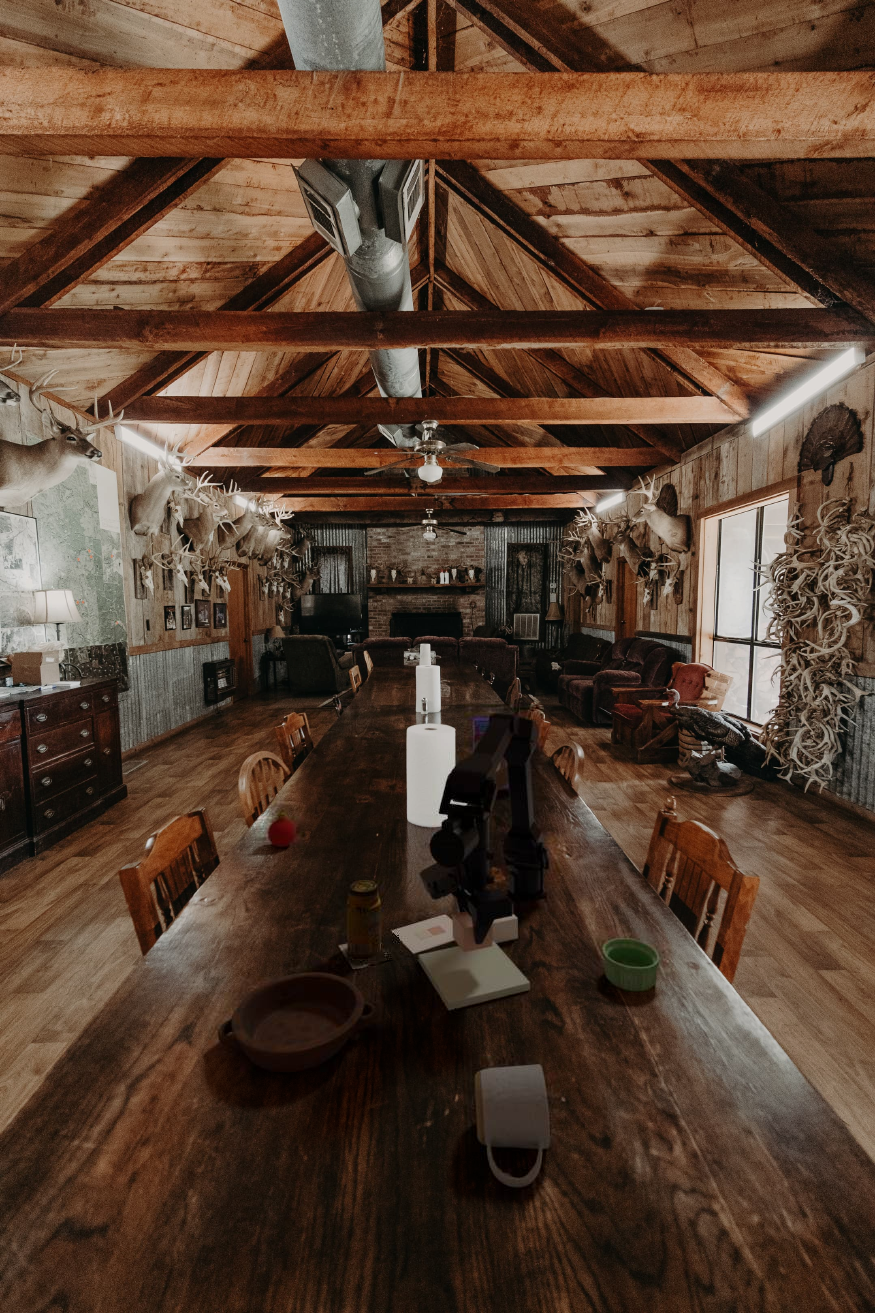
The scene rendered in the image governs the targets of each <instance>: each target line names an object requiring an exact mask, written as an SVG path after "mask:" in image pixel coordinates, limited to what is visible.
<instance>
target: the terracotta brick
mask: <svg viewBox="0 0 875 1313" xmlns="http://www.w3.org/2000/svg"><path fill="white" fill-rule="evenodd" d="M451 916H452V918H451V920H452V921H453V938H454V940H455V943H457V945H458V946H460V948H461V949H462V950H463V952H469V951H474V950H478V949H483V948H487V947H492V926H491V927H490V929H489V931H488V933H487V935H486V937H485V939H484V941H483V943H482V944H478V945H477V944H476V943H475V938H474V932H473V925H472V917H471V916H470V915H469V914H468V913H467V912H461V913H458V912H456V913H452V915H451Z"/></svg>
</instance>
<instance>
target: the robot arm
mask: <svg viewBox="0 0 875 1313" xmlns="http://www.w3.org/2000/svg"><path fill="white" fill-rule="evenodd" d="M488 719H489V724H488V726H487V728H486V729H485V731H484V733H483V735H482V737H481V738H480V740H479V742H478V744H477V746H476V747H475V749H474V751H473V750H472V753H471V754H470V756H468V757H465V758H463V759H460V760H458V762H457V763H456V764H455V766H454V767H453V768H452V769H451V771H450V773H449V774H448V775H447V778H446V780H445V784H444V789H443V792H442V796H441V800H440V804H439V808H438V809H439V810H438V814H439V815H444V816H447V818H445V819H443V820H442V821H441V824H440V825H441V826H440V828H439V829H438V830H436V832H435V833H434V834H433V835H432V836H431V838H430V840H429V841H430V842H429V852H430V855H431V856H432V858H433V860H434V861H435V863H433V864H431V865H429V866H428V867H426V868H424V869H422V870H421V871H420V872H419V876H420V879H421V882H422V884H423V887H424V888H425V891H426V893H428V895H429V896H430V898H431V899H432V900H435V901H437V900H439V899H442V898H445V897H448V896H449V895H453V898H454V902H455V905H456V909H457V913H461V912H467V913H468V914H469V915H470V916H471V917H472V925H473V932H474V938H475V943H476V944H477V945H478V944H482V943H483V941H484V939H485V937H486V935H487V933H488V931H489V929H490V927H491V926H492V924H493V922H494V920H496V919H500V918H505V917H510V916H512V915H513V914H514V913H515V912H514V911H515V910H514V909H515V908H514V901H513V900H512V899H511V898H510V897H509V896H507V894H506V893H505V892H503V891H502V889H500V888H498V887H497V888H494V889H493V888H492V889H488V887H487V885H492V884H494V883H495V877H494V876H493V875H492V874H491V873H490V860H494V858H495V852H494V851H492V850H491V849H490V814H492V812H493V809H494V806H495V802H496V798H497V795H498V792H499V791H498V785H497V782H496V777H495V771H496V769H497V767H498V765H499V763H500V761H501V759H502V757H503V758H504V759H505V760H506V762H507V770H508V784H509V791H508V795H509V809H510V810H509V811H510V821H511V822H510V823H511V824H510V827H509V830H508V831H507V833H506V835H505V837H504V839H503V844H502V852H503V859H504V865H505V866H510V871H509V872H508V886H507V890H508V891H509V892H510V893H511V894H512V895H513V896H515V897H516V899H518V900H519V901H521V902H523V901H530V900H534V899H539V898H544V897H548V893H547V892H546V891H545V890H544V872H545V870H549V869H550V867H551V865H550V863H551V858H550V852H549V850H548V847H547V844H546V842H544V835H543V830H542V829H541V828H540V826H539V825H538V823H536V821H535V817H534V803H533V790H532V788H533V787H532V773H531V772H532V771H531V756H532V754H533V753H534V750H535V749H536V747H537V745H538V741H539V737H540V728H539V727H540V726H539V725H538V724H537V722H536V721H534V720H533V718H527V717H520V715H518V714H515V713H512V712H496V711H495V712H493V713H492V712H491V713H490V716H489V718H488ZM452 801H453V802H454V803H451V802H452ZM457 803H459V804H457ZM460 803H461V804H460ZM464 804H465V805H464ZM514 915H515V914H514Z"/></svg>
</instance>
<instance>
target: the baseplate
mask: <svg viewBox="0 0 875 1313" xmlns="http://www.w3.org/2000/svg"><path fill="white" fill-rule="evenodd" d="M418 963H419V964H420V966H421V967H422V969H423V970H424V973H425V974H426V976H427V977H428V979H429V981H430V982H431V984H432V986H433V988H434V989H435V991H436V990H437V991H436V992H437V994H438V993H439V994H438V995H440V996H439V997H440V998H441V1001H442V1002H443V1004H444V1003H445V1004H444V1005H445V1007H446V1009H447V1010H448V1011H451V1010H456V1009H460V1008H463V1007H467V1006H471V1005H476V1004H480V1003H484V1002H487V1001H491V1000H495V999H500V998H503V997H507V996H510V995H516V994H519V993H522V992H527V991H530V990H531V982H530V981H529V979H527V977H526V976H525V975H524V974H523V972H522V971H521V970H520V969H519V968H518V967H517V966H516V965H515V964H514V962H513V961H512V960H511V959H510V958H509V956H507V954H506V953H505V952H504V951H503V950H502V949H501V947H500V946H499V945H498V943H495V942H494V941H493V940H492V947H487V948H483V949H478V950H474V951H469V952H463V950H462V949H461V948H460V946H459V945H458V946H453V947H449V948H445V949H439V950H435V951H430V952H425V953H421V954H418ZM455 1008H456V1009H455Z"/></svg>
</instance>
